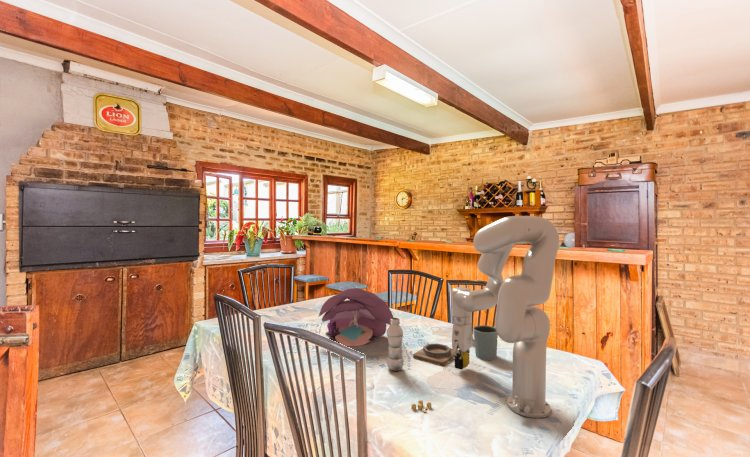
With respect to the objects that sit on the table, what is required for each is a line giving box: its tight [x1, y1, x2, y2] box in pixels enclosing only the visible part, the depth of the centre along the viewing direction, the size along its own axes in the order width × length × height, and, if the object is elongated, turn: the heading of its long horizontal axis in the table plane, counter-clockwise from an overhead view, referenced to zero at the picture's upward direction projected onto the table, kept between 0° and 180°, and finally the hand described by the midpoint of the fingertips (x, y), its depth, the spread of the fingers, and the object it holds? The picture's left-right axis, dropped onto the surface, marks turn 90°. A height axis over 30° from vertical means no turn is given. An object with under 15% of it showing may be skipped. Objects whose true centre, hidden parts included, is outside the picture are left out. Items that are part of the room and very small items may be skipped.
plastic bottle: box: [386, 317, 404, 372], centre depth 137 cm, size 6×7×20 cm
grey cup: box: [473, 325, 499, 361], centre depth 150 cm, size 10×10×12 cm
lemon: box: [458, 348, 470, 369], centre depth 136 cm, size 6×6×8 cm
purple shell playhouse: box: [318, 287, 395, 347], centre depth 172 cm, size 35×24×28 cm
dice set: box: [411, 399, 432, 413], centre depth 110 cm, size 5×5×2 cm
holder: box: [412, 342, 455, 367], centre depth 151 cm, size 16×14×3 cm
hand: (462, 365), depth 136 cm, fingers closed on lemon, 5 cm apart
